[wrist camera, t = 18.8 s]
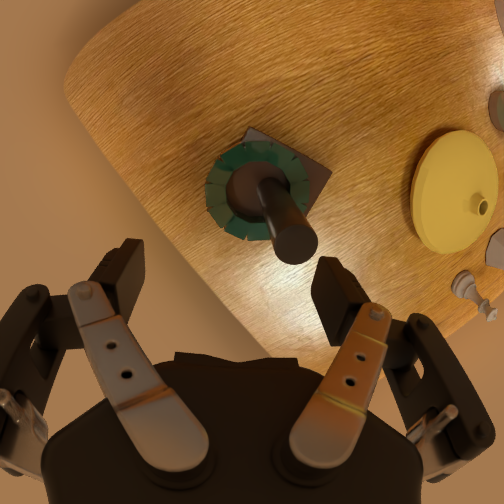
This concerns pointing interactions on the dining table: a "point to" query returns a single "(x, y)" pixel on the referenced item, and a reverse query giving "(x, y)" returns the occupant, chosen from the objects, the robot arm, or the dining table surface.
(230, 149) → the green segmented ring
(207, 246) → the dining table surface
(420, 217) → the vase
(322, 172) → the holder
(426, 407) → the robot arm
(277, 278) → the dining table surface
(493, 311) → the chess piece
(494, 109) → the coffee cup
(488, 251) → the flask
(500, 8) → the dish
